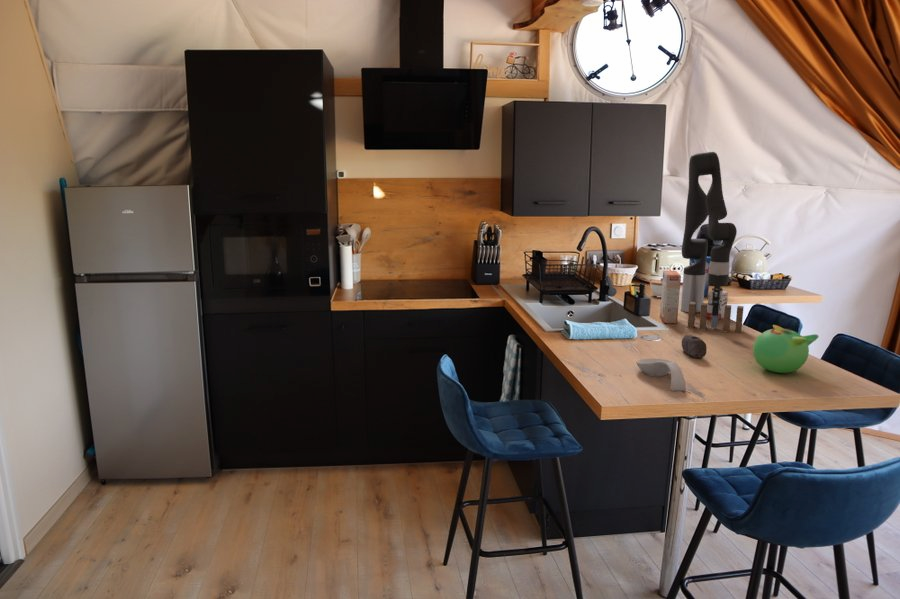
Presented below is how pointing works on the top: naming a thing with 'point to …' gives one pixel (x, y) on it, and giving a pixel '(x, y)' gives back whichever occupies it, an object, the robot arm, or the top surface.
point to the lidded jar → (656, 287)
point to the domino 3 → (715, 318)
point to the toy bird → (782, 349)
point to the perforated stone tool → (694, 346)
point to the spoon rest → (664, 371)
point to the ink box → (721, 305)
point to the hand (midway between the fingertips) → (715, 313)
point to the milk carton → (706, 284)
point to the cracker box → (670, 296)
